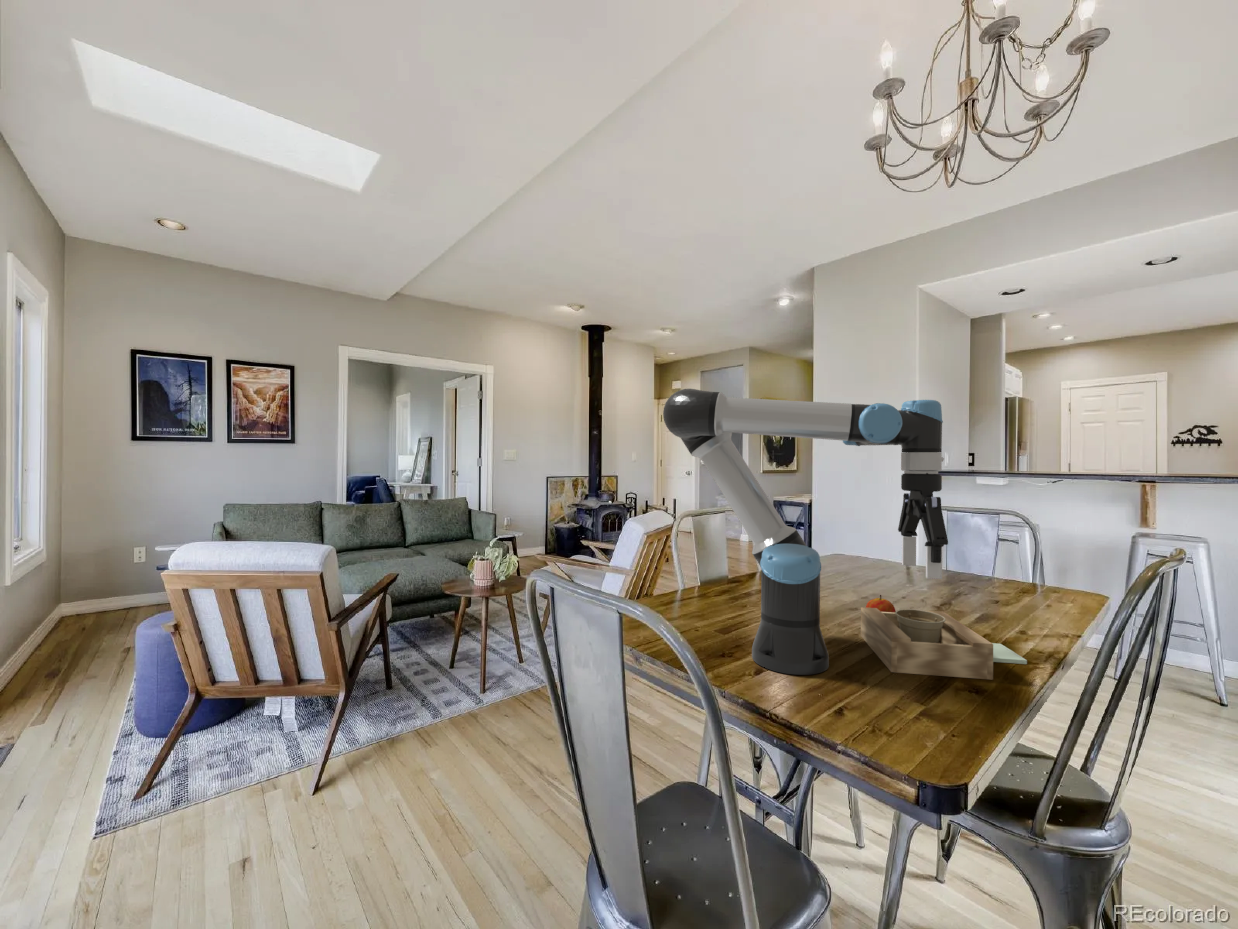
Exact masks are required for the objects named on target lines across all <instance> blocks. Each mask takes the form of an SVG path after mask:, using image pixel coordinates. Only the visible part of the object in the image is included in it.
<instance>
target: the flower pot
mask: <svg viewBox="0 0 1238 929" xmlns="http://www.w3.org/2000/svg"><path fill="white" fill-rule="evenodd" d="M928 611H929V610H920V609H912V608H906V609H905V608H904V609H896V611H895V615H896V616H897V620H898V622H899V626H900V630H902V631H903V632H904V633H905V634H906V635H907V636H908V637H909V638H910V639H911V641H913V642H928V643H940V642H939V637H940V632H941V628H942V627H943V622H945V621H946V619H945V618H944V617H943V616H941V615H939V614H936V613H932V612H928Z"/></svg>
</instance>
